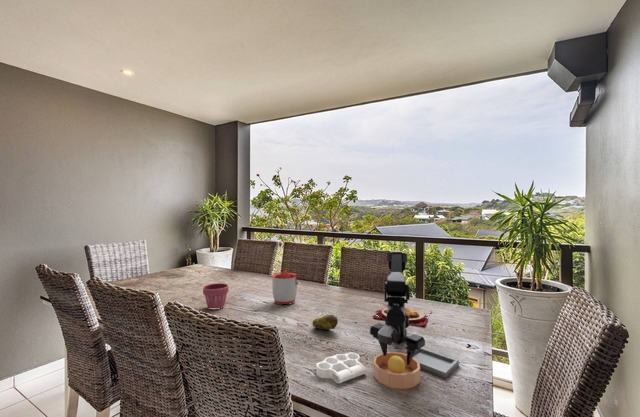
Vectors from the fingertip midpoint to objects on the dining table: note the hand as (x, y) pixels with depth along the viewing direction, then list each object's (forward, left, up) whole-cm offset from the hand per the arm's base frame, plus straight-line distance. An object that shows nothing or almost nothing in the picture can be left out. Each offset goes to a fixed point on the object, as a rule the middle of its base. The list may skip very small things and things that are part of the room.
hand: (396, 360), depth 107 cm
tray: (+5, +16, -5) cm, 18 cm away
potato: (-45, +11, -6) cm, 47 cm away
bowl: (0, 0, -5) cm, 5 cm away
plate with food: (-29, +55, -6) cm, 62 cm away
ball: (0, 0, -2) cm, 2 cm away
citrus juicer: (-92, +25, -6) cm, 95 cm away
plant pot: (-114, -10, -6) cm, 115 cm away
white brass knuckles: (-16, -11, -6) cm, 20 cm away
